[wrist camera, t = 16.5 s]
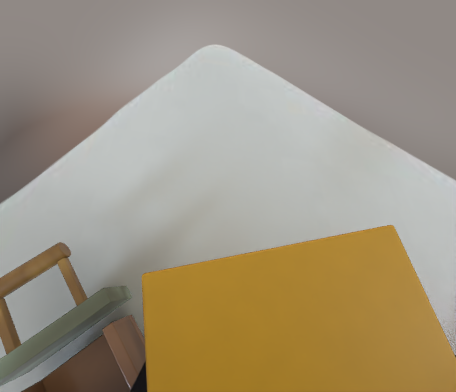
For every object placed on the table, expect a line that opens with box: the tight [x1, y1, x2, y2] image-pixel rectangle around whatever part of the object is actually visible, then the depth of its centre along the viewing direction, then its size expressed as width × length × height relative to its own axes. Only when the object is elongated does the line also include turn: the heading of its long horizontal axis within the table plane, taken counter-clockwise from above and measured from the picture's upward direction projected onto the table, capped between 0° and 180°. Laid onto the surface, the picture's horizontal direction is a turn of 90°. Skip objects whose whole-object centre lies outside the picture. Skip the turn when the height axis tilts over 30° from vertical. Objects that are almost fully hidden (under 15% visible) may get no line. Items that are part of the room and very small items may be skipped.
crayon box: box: [142, 225, 456, 392], centre depth 9 cm, size 5×5×12 cm
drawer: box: [0, 242, 146, 392], centre depth 16 cm, size 17×9×4 cm, turn 37°
